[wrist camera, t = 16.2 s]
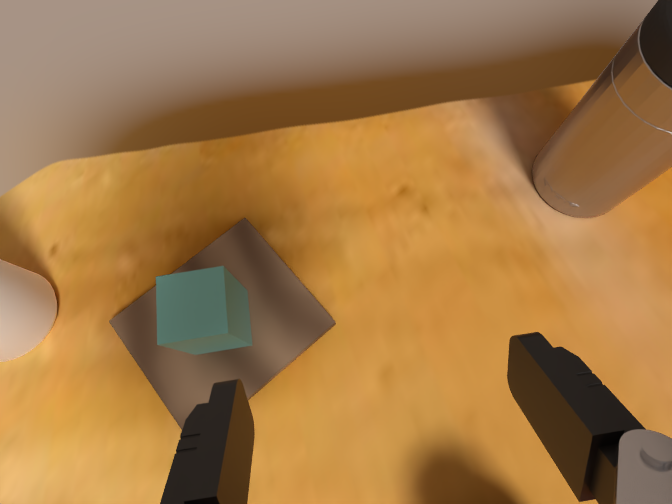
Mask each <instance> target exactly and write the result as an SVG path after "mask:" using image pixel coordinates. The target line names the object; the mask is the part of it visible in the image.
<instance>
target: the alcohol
mask: <svg viewBox="0 0 672 504" xmlns="http://www.w3.org/2000/svg"><path fill="white" fill-rule="evenodd" d="M56 315H57V300H56V296H55V292H54V290H53V288H52V286H51V284H50V283H49V282H48V281H47V280H46V279H45V278H44V277H42V276H41V275H39V274H37V273H34V272H32V271H29V270H27V269H24V268H22V267H19V266H16V265H14V264H11V263H9V262H6V261H4V260H1V259H0V362H5V361H9V360H13V359H16V358H18V357H21V356H23V355H25V354H26V353H28V352H29V351H31V350H32V349H34V348H35V347H36V346H37V345H39V344H40V343H41V342H42V341H43V340H44V339H45V337H46V336H47V335H48V334H49V332H50V330H51V329H52V327H53V325H54V322H55V319H56Z"/></svg>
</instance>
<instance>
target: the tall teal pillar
mask: <svg viewBox="0 0 672 504" xmlns="http://www.w3.org/2000/svg"><path fill="white" fill-rule="evenodd" d="M156 306H157V345H160V346H164V347H167V348H171V349H175V350H179V351H183V352H187V353H190V354H194V355H198V354H204V353H210V352H216V351H222V350H228V349H234V348H240V347H246V346H252V335H251V324H250V313H249V303H248V292H247V290H246V289H245V288H244V287H243V285H242V284H241V283H240V282H239V281H238V280H237V279H236V278H235V277H234V276H233V275H232V274H231V273H230V272H229V271H228V270H227V269H226V268H225V267H224V266H219V267H213V268H207V269H200V270H194V271H188V272H182V273H176V274H170V275H163V276H157V277H156Z"/></svg>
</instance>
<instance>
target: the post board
mask: <svg viewBox="0 0 672 504" xmlns="http://www.w3.org/2000/svg"><path fill="white" fill-rule="evenodd" d="M219 266H224V267H225V268H226V269H227V270H228V271H229V272H230V273H231V274H232V275H233V276H234V277H235V278H236V279H237V280H238V281H239V282H240V283H241V284H242V285H243V287H244V288H245V289H246V290H247V292H248V303H249V313H250V324H251V335H252V346H246V347H240V348H234V349H228V350H222V351H216V352H210V353H204V354H198V355H194V354H190V353H187V352H183V351H179V350H175V349H171V348H167V347H164V346H160V345H157V306H156V286H154V287H153V288H152V289H151V290H149V291H148V292H147V293H145V294H144V295H143V296H141V297H140V298H139V299H137V300H136V301H135V302H133V303H132V304H131V305H130V306H128V307H127V308H126V309H124V310H123V311H122V312H120V313H119V314H118V315H116V316H115V317H114V318H112V319H111V320H110V321H109V322H110V324H111V325H112V327H113V328H114V330H115V331H116V333H117V334H118V336H119V337H120V339H121V340H122V342H123V343H124V345H125V346H126V348H127V349H128V351H129V352H130V354H131V355H132V357H133V358H134V359H135V361H136V362H137V364H138V365H139V367H140V368H141V370H142V371H143V373H144V374H145V376H146V377H147V379H148V380H149V382H150V383H151V385H152V386H153V388H154V389H155V391H156V392H157V394H158V395H159V397H160V398H161V400H162V401H163V403H164V404H165V406H166V407H167V409H168V410H169V412H170V413H171V414H172V416H173V417H174V419H175V420H176V422H177V423H178V425H179V426H180V428H181V429H182V430H183V426H184V423H185V420H186V418H187V417H188V416H189V414H190V413H191V412H192V410H193V409H194V408H195V406H196V405H197V404H202V403H208V402H209V398H210V394H211V390H212V386H213V384H214V383H217V382H223V381H229V380H235V379H241V381H242V383H243V386H244V389H245V393H246V396H247V399H248V400H249V399H250V398H251V397H252V396H254V395H255V394H256V393H257V392H258V391H259V390H260V389H262V388H263V387H264V386H265V385H266V384H267V383H268V382H270V381H271V380H272V379H273V378H274V377H275V376H277V375H278V374H279V373H280V372H281V371H282V370H283V369H285V368H286V367H287V366H288V365H289V364H290V363H292V362H293V361H294V360H295V359H296V358H297V357H298V356H300V355H301V354H302V353H303V352H304V351H305V350H307V349H308V348H309V347H310V346H311V345H312V344H313V343H315V342H316V341H317V340H318V339H319V338H320V337H322V336H323V335H324V334H325V333H326V332H327V331H328V330H330V329H331V328H332V327H333V326H334V325H335V324H336V323H335V321H334V320H333V319H332V317H331V316H330V315H329V314H328V313H327V312H326V311H325V309H324V308H323V307H322V306H321V305H320V304H319V302H318V301H317V300H316V299H315V298H314V297H313V295H312V294H311V293H310V292H309V291H308V290H307V289H306V287H305V286H304V285H303V284H302V283H301V282H300V280H299V279H298V278H297V277H296V276H295V275H294V273H293V272H292V271H291V270H290V269H289V268H288V267H287V265H286V264H285V263H284V262H283V261H282V260H281V258H280V257H279V256H278V255H277V254H276V253H275V251H274V250H273V249H272V248H271V247H270V246H269V245H268V243H267V242H266V241H265V240H264V239H263V238H262V236H261V235H260V234H259V233H258V232H257V231H256V229H255V228H254V227H253V226H252V225H251V224H250V223H249V221H248V220H247V219H246V218H244V219H242V220H241V221H240V222H238V223H237V224H236V225H235V226H233V227H232V228H231V229H229V230H228V231H227V232H225V233H224V234H223V235H221V236H220V237H219V238H217V239H216V240H215V241H214V242H212V243H211V244H210V245H208V246H207V247H206V248H204V249H203V250H202V251H200V252H199V253H198V254H196V255H195V256H194V257H193V258H191V259H190V260H189V261H187V262H186V263H185V264H183V265H182V266H181V267H179V268H178V269H177V270H175V271H174V272H173V273H172V274H176V273H182V272H188V271H194V270H200V269H207V268H213V267H219Z"/></svg>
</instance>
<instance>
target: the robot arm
mask: <svg viewBox="0 0 672 504" xmlns="http://www.w3.org/2000/svg"><path fill="white" fill-rule="evenodd" d="M671 167H672V0H658V2H657V3H656V4H655V5H654V7H653V8H652V9H651V11H650V12H649V13H648V14H647V16H646V17H645V18H644V20H643V21H642V22H641V23H640V25H639V26H638V27H637V29H636V30H635V31H634V32H633V34H632V35H631V36H630V37H629V39H628V40H627V41H626V43H625V44H624V45H623V46H622V48H621V49H620V50H619V52H618V53H617V54H616V56H615V57H614V58H613V59H612V61H611V62H610V63H609V65H608V66H607V67H606V69H605V70H604V71H603V72H602V73H601V75H600V76H599V77H598V79H597V80H596V81H595V82H594V84H593V85H592V86H591V88H590V89H589V90H588V91H587V93H586V94H585V95H584V96H583V98H582V99H581V100H580V102H579V103H578V104H577V105H576V107H575V108H574V109H573V111H572V112H571V113H570V114H569V116H568V117H567V118H566V119H565V121H564V122H563V123H562V125H561V126H560V127H559V128H558V130H557V131H556V132H555V133H554V135H553V136H552V137H551V138H550V140H549V141H548V142H547V144H546V145H545V146H544V147H543V149H542V150H541V151H540V153H539V154H538V155H537V157H536V159H535V161H534V164H533V170H532V175H533V182H534V184H535V187H536V189H537V191H538V192H539V194H540V196H541V197H542V198H543V199H544V200H545V201H546V202H547V203H548V204H549V205H550V206H552V207H553V208H554V209H556V210H558V211H560V212H562V213H564V214H566V215H570V216H573V217H580V218H590V217H596V216H600V215H603V214H605V213H607V212H608V211H610V210H612V209H613V208H614V207H616V206H617V205H619V204H620V203H621V202H623V201H624V200H626V199H627V198H629V197H630V196H631V195H633V194H634V193H636V192H637V191H639V190H640V189H642V188H643V187H644V186H646V185H647V184H649V183H650V182H651V181H653V180H654V179H656V178H657V177H658V176H660V175H661V174H663V173H664V172H665V171H667V170H668V169H670V168H671ZM507 378H508V384H509V388H510V391H511V393H512V395H513V397H514V399H515V400H516V402H517V404H518V405H519V407H520V408H521V410H522V412H523V413H524V415H525V416H526V418H527V419H528V421H529V423H530V424H531V426H532V427H533V429H534V431H535V432H536V434H537V435H538V437H539V439H540V440H541V442H542V443H543V445H544V446H545V448H546V450H547V451H548V453H549V454H550V456H551V458H552V459H553V461H554V462H555V464H556V466H557V467H558V469H559V470H560V472H561V474H562V475H563V477H564V478H565V480H566V481H567V483H568V485H569V486H570V488H571V489H572V491H573V493H574V494H575V496H576V497H577V499H578V501H579V502H581V501H587V500H593V499H596V500H597V502H598V503H599V504H672V439H671V438H670V437H668V436H666V435H663V434H661V433H658V432H655V431H651V430H646V429H645V428H644V427H643V426H642V425H641V424H640V423H639V422H638V420H637V419H636V418H635V417H634V416H633V415H632V414H631V413H630V412H629V411H628V410H627V409H626V408H625V406H624V405H623V404H622V403H621V402H620V401H619V400H618V399H617V398H616V397H615V396H614V395H613V393H612V392H611V391H610V390H609V389H608V388H607V387H606V386H605V385H603V384H602V382H601V380H600V379H599V378H598V377H597V376H596V375H595V374H592V371H591V370H590V369H589V368H588V366H587V365H586V364H585V363H584V362H583V361H582V360H581V359H580V358H579V357H578V356H576V355H574V354H573V353H571V352H569V351H568V350H566V349H564V348H563V347H555V348H553V347H552V346H551V344H550V343H549V342H548V341H547V340H546V339H545V338H544V336H543V335H542V334H540V333H539V332H534V333H528V334H522V335H515V336H512V337H511V338H510V343H509V358H508V372H507ZM180 437H181V439H180V440H179V443H178V446H177V449H176V454H175V456H174V459H173V463H172V466H171V469H170V473H169V476H168V479H167V483H166V486H165V489H164V492H163V496H162V499H161V502H160V504H247V500H248V491H249V481H250V472H251V463H252V454H253V445H254V421H253V416H252V413H251V409H250V406H249V403H248V399H247V396H246V393H245V389H244V386H243V383H242V381H241V379H235V380H229V381H223V382H217V383H214V384H213V386H212V390H211V394H210V398H209V402H208V403H202V404H197V405H196V406H195V408H194V409H193V410H192V412H191V413H190V414H189V416H188V417H187V418H186V420H185V423H184V426H183V430H182V433H181V436H180Z"/></svg>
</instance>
